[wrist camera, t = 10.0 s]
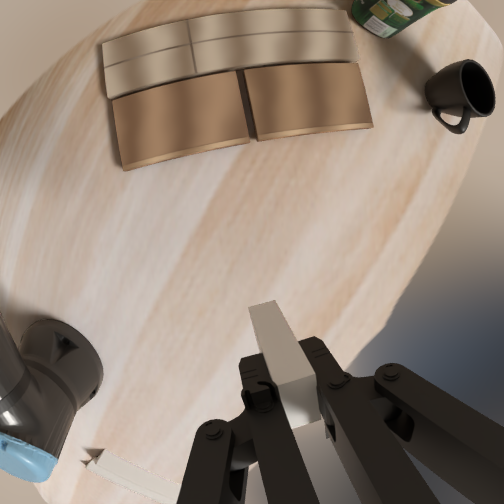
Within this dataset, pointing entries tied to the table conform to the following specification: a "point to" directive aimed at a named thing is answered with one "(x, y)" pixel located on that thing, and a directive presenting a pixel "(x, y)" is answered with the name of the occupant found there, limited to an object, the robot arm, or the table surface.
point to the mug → (461, 93)
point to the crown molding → (134, 478)
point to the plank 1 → (180, 120)
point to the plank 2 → (306, 99)
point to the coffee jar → (392, 14)
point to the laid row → (226, 46)
